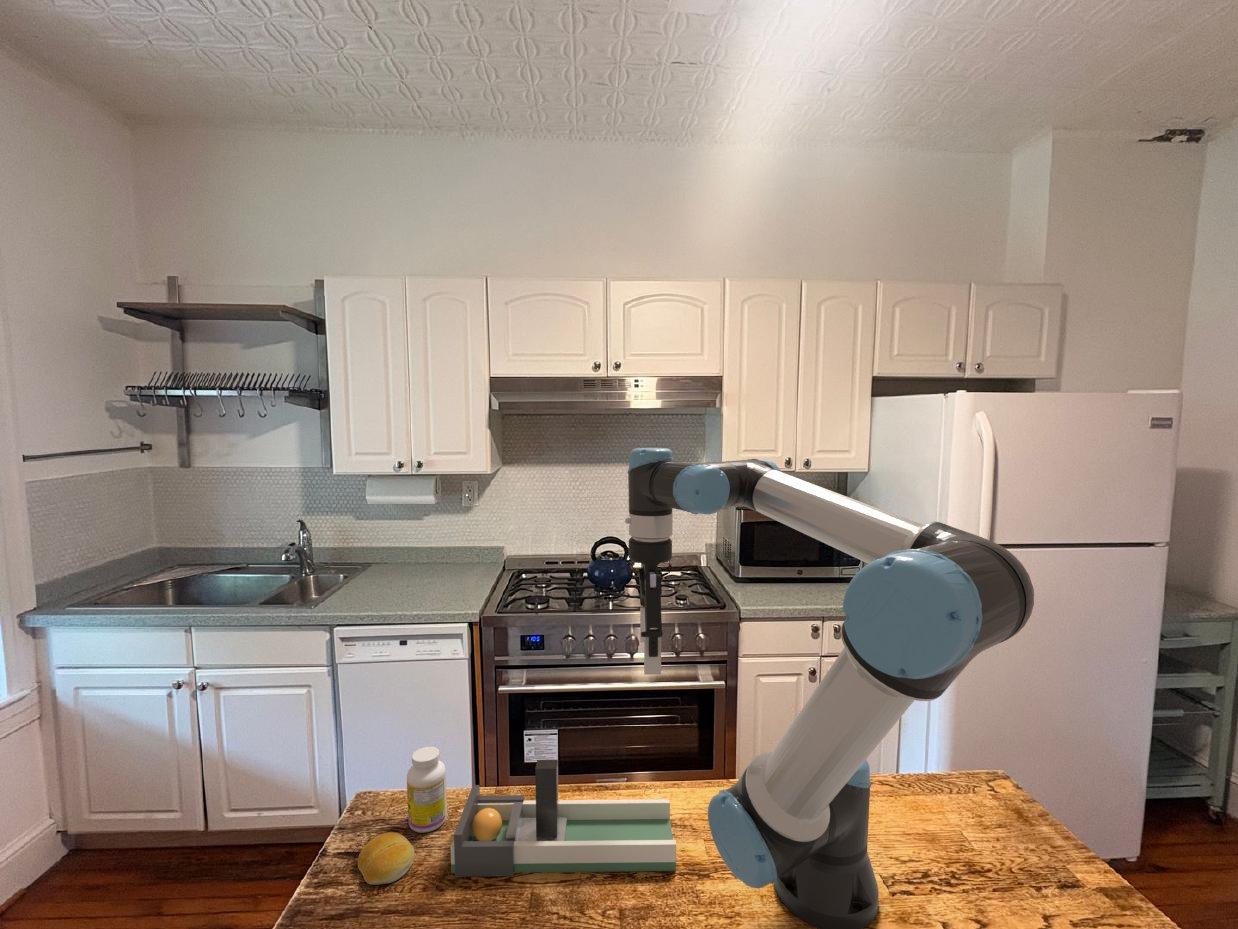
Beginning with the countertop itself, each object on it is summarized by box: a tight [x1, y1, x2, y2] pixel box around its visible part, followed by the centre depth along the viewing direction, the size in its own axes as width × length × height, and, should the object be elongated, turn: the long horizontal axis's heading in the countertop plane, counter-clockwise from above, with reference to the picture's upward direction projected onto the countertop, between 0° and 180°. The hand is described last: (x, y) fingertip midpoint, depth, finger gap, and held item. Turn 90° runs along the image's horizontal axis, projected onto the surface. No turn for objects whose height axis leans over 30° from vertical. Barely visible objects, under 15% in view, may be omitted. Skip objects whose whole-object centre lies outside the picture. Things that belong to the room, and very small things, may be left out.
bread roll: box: [357, 831, 415, 885], centre depth 94 cm, size 8×9×4 cm
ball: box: [472, 808, 502, 841], centre depth 98 cm, size 5×5×5 cm
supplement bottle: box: [406, 746, 448, 834], centre depth 104 cm, size 7×7×13 cm
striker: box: [506, 759, 567, 841], centre depth 98 cm, size 9×8×13 cm
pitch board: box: [450, 798, 677, 874], centre depth 98 cm, size 36×11×4 cm, turn 91°
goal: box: [453, 784, 526, 878], centre depth 98 cm, size 9×12×7 cm
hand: (649, 656), depth 102 cm, fingers open, 13 cm apart
